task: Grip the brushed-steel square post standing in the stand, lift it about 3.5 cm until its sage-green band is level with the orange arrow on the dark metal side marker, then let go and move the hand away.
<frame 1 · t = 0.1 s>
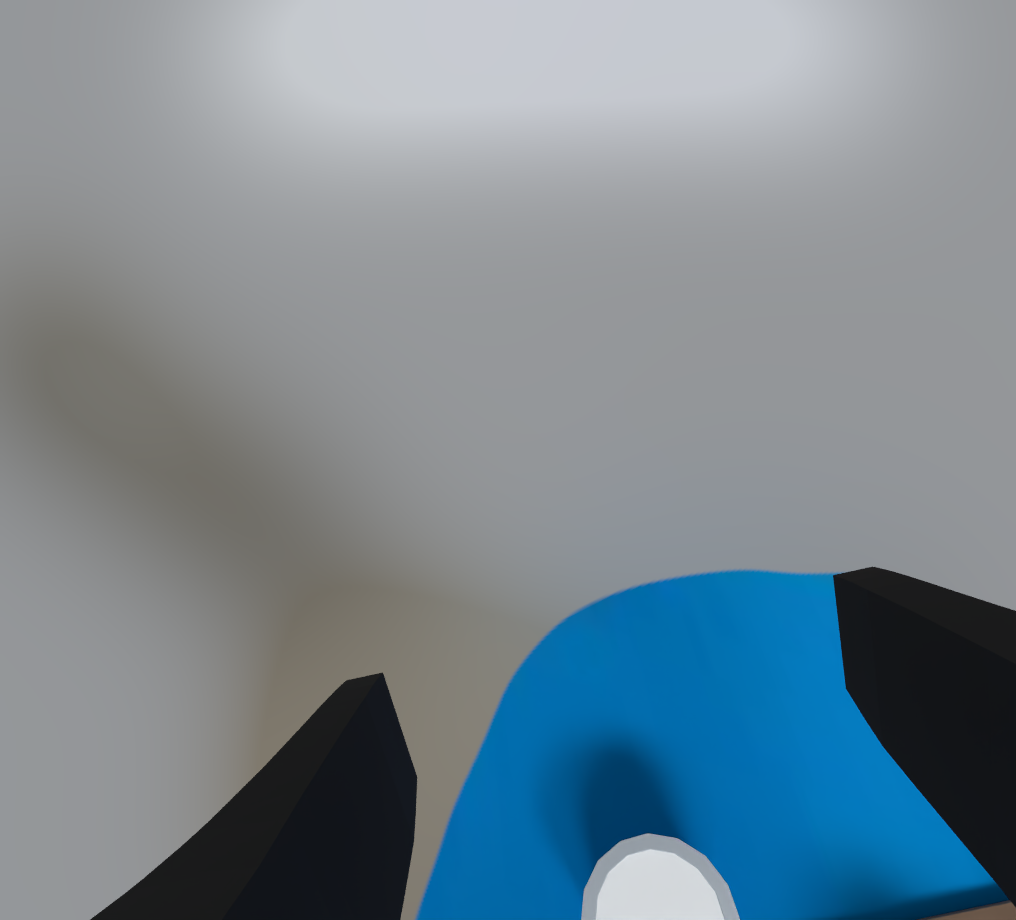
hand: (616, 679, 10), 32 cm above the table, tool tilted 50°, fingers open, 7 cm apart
shot glass: (657, 915, 35), on the table
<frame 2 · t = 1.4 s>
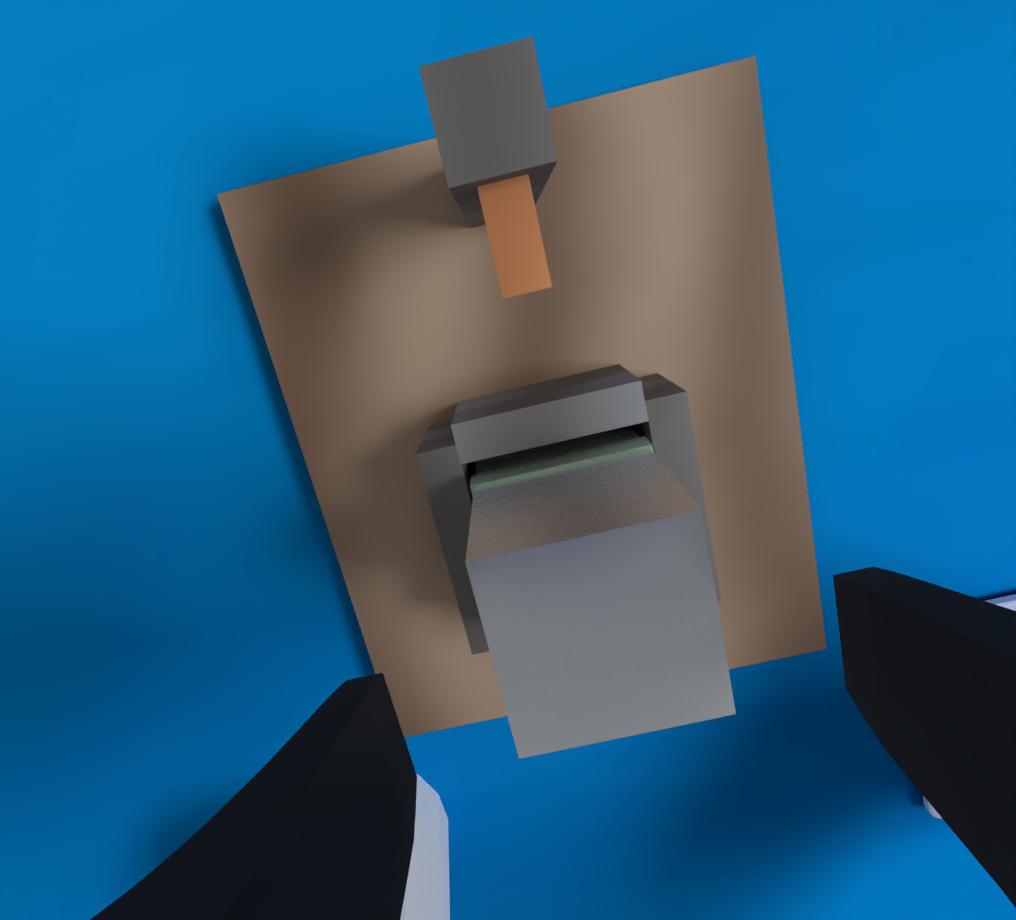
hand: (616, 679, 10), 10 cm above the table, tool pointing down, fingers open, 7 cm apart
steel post: (579, 549, 15), point 5 cm above the table, slide at 0.0 cm
shot glass: (370, 820, 24), on the table
stand: (559, 482, 20), on the table
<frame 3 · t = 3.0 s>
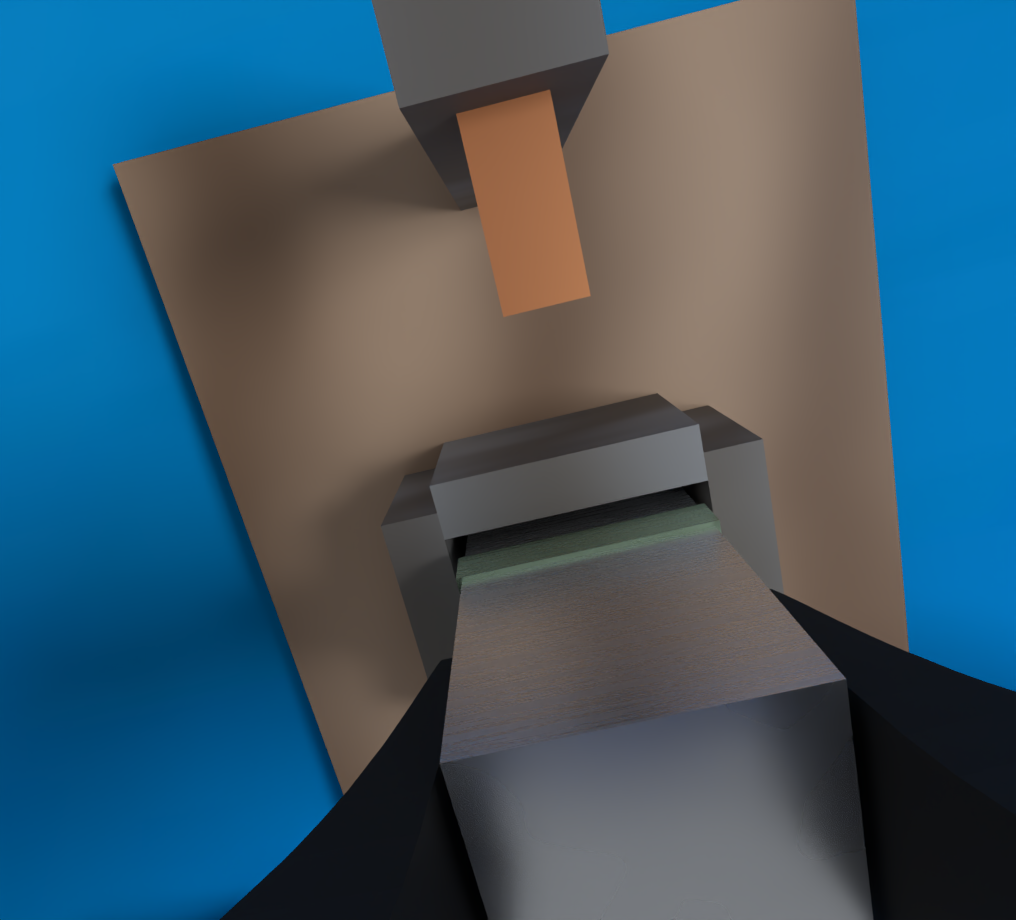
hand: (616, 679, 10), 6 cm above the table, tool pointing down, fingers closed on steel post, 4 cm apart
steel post: (611, 665, 11), point 5 cm above the table, slide at 0.0 cm, touching gripper
stand: (576, 541, 16), on the table
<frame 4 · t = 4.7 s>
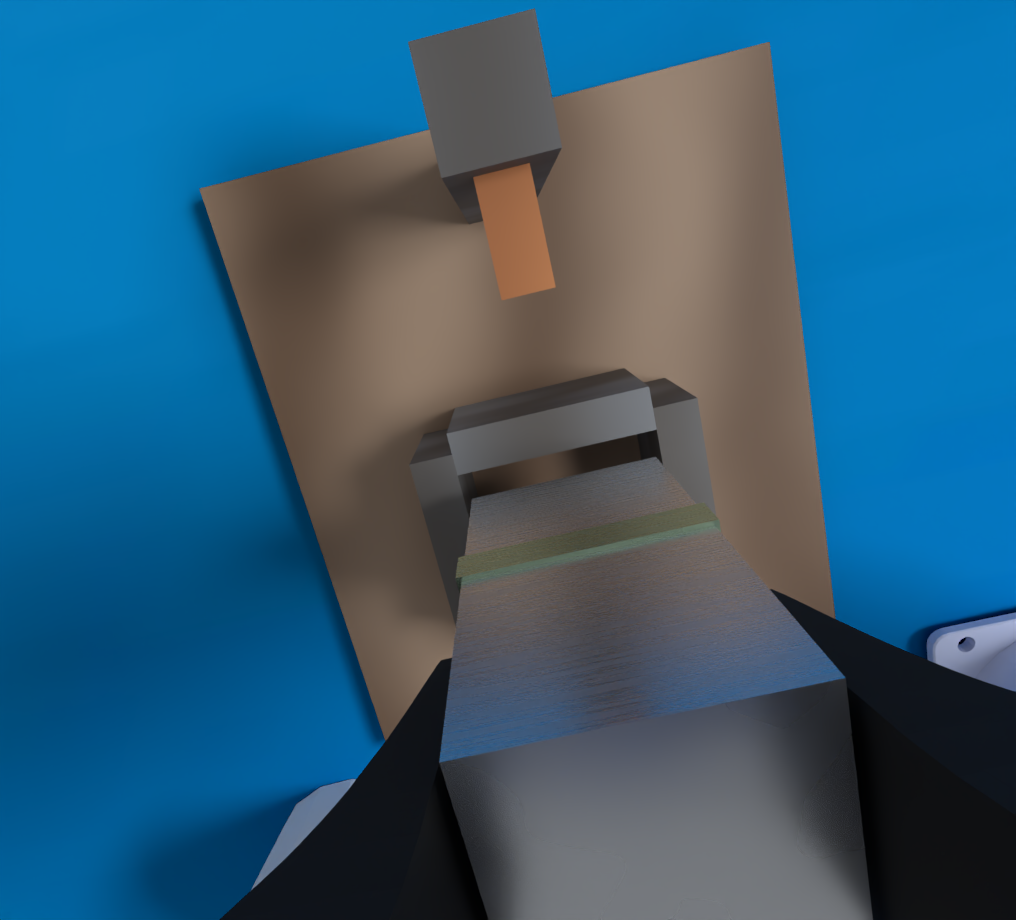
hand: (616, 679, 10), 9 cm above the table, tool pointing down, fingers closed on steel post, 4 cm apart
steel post: (611, 664, 11), point 9 cm above the table, slide at 3.8 cm, touching gripper
shot glass: (364, 842, 23), on the table
stand: (561, 491, 19), on the table
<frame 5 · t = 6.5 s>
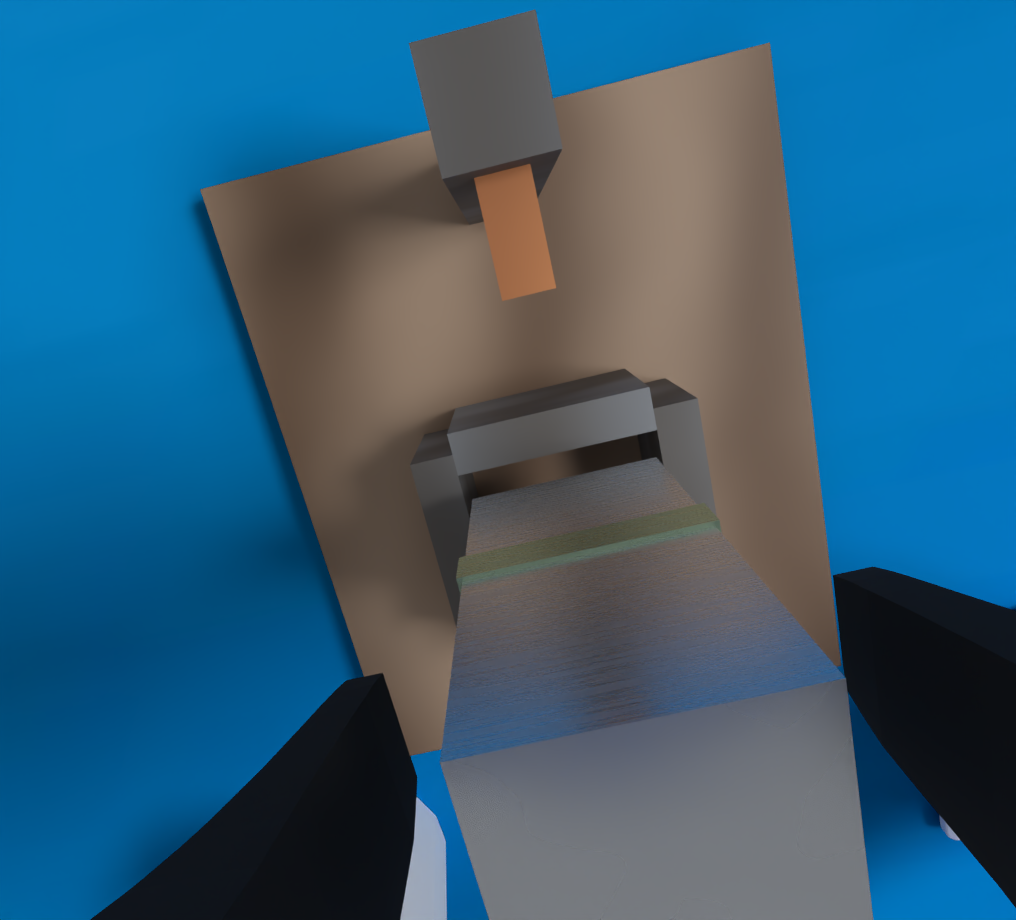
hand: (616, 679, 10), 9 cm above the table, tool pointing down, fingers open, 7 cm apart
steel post: (611, 664, 11), point 9 cm above the table, slide at 3.8 cm
shot glass: (365, 842, 23), on the table
stand: (562, 491, 19), on the table
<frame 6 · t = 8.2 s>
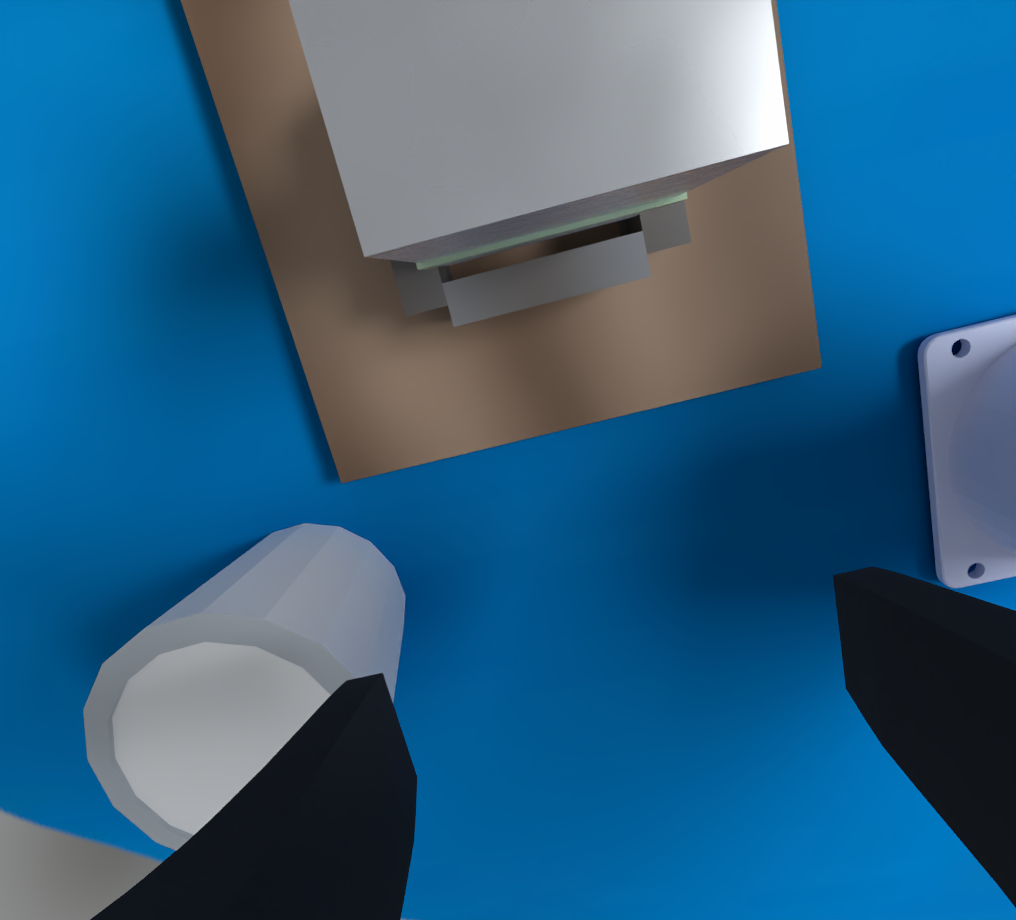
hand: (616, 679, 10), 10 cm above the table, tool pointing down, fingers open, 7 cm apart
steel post: (517, 85, 9), point 9 cm above the table, slide at 3.8 cm
shot glass: (321, 600, 22), on the table
stand: (516, 175, 18), on the table
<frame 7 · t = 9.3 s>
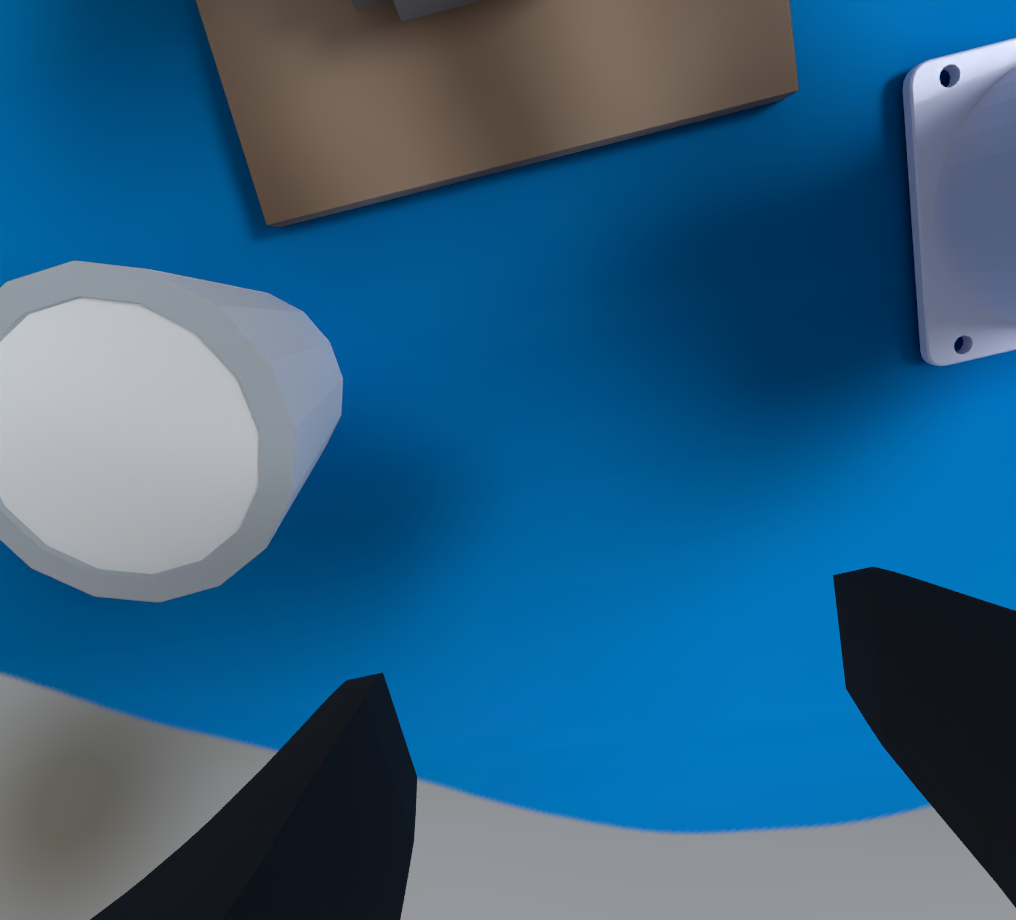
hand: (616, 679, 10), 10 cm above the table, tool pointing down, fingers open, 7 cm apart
shot glass: (250, 385, 20), on the table
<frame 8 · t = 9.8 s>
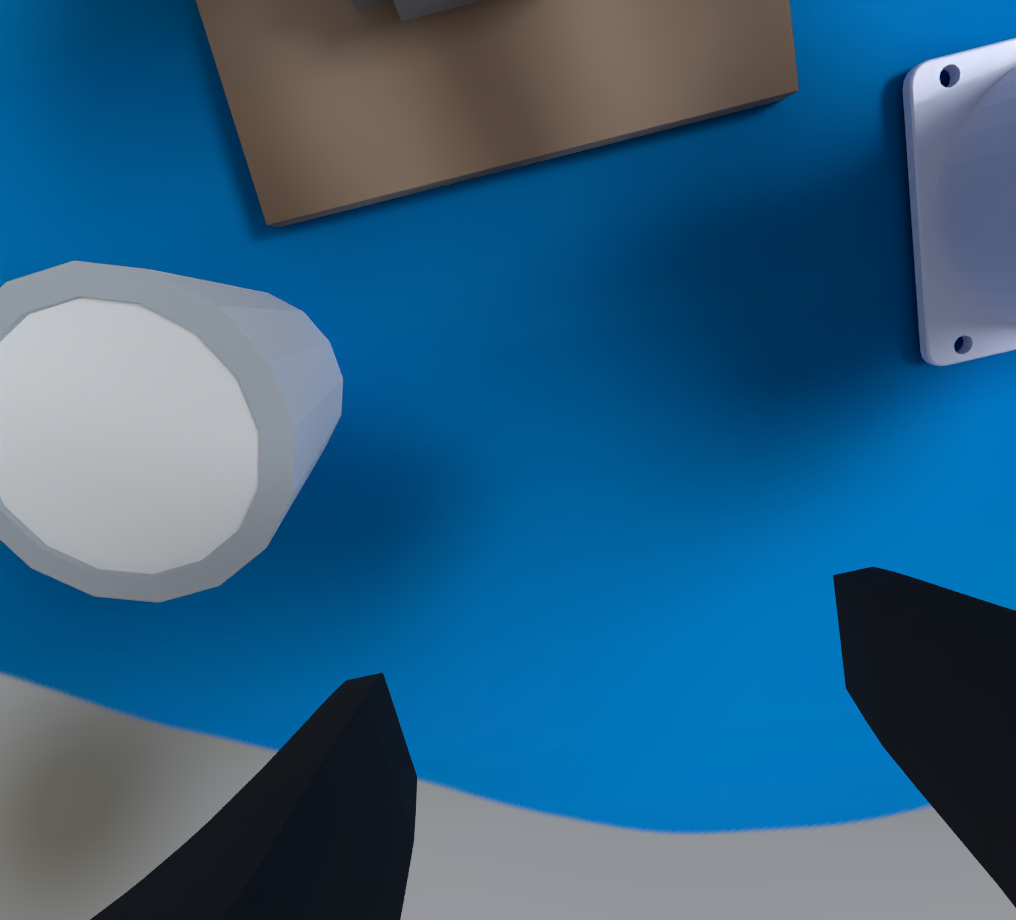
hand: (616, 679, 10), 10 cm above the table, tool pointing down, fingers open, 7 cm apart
shot glass: (250, 385, 20), on the table
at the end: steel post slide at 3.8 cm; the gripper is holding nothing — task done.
